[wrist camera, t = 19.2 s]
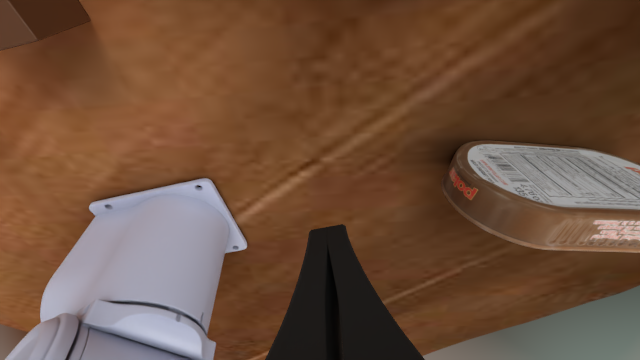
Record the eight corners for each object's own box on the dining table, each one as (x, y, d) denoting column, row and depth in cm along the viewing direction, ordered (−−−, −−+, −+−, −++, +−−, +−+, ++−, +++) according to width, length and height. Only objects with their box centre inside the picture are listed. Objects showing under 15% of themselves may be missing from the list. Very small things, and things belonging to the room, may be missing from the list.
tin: (422, 165, 22) (477, 257, 16) (437, 127, 20) (507, 215, 14) (597, 175, 24) (710, 261, 18) (625, 141, 22) (765, 225, 16)
